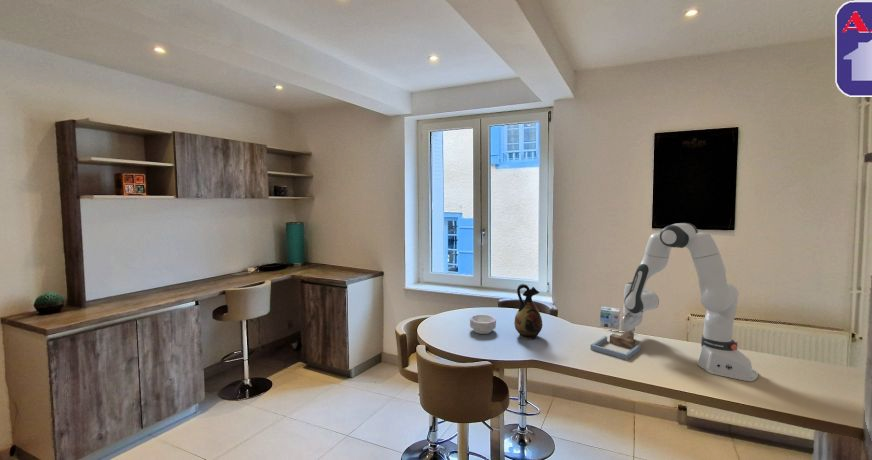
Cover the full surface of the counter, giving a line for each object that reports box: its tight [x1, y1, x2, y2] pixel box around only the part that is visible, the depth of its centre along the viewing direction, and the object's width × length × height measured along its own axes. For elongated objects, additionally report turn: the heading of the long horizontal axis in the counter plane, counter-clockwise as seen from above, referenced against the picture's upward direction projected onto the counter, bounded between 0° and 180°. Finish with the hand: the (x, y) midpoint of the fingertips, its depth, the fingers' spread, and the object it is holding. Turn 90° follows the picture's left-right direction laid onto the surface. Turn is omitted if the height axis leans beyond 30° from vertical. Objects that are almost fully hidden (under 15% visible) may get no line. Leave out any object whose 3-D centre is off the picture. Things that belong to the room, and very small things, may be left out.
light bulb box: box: [599, 306, 621, 330], centre depth 242 cm, size 11×7×11 cm, turn 62°
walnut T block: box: [609, 331, 637, 350], centre depth 217 cm, size 12×12×4 cm
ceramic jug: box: [513, 283, 543, 340], centre depth 226 cm, size 17×15×30 cm
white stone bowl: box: [469, 314, 497, 335], centre depth 237 cm, size 15×15×8 cm
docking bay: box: [590, 335, 641, 361], centre depth 208 cm, size 18×17×2 cm
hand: (631, 335), depth 222 cm, fingers closed
